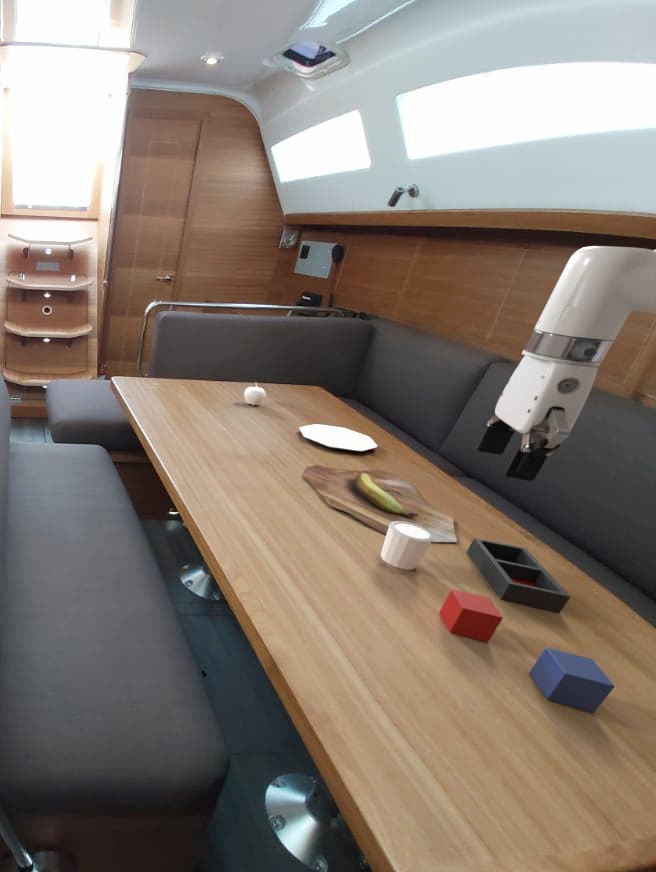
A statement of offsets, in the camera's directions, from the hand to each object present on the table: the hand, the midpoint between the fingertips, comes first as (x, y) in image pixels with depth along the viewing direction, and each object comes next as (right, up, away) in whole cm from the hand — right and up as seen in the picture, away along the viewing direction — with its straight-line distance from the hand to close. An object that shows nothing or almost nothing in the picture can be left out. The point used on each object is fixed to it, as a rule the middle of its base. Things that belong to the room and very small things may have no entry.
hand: (502, 464), depth 73 cm
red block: (0, -26, +7) cm, 27 cm away
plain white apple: (+15, +22, +109) cm, 112 cm away
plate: (+26, +7, +79) cm, 83 cm away
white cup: (+2, -19, +23) cm, 30 cm away
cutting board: (+14, -9, +45) cm, 48 cm away
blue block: (+4, -32, -4) cm, 32 cm away
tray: (+20, -21, +19) cm, 35 cm away
